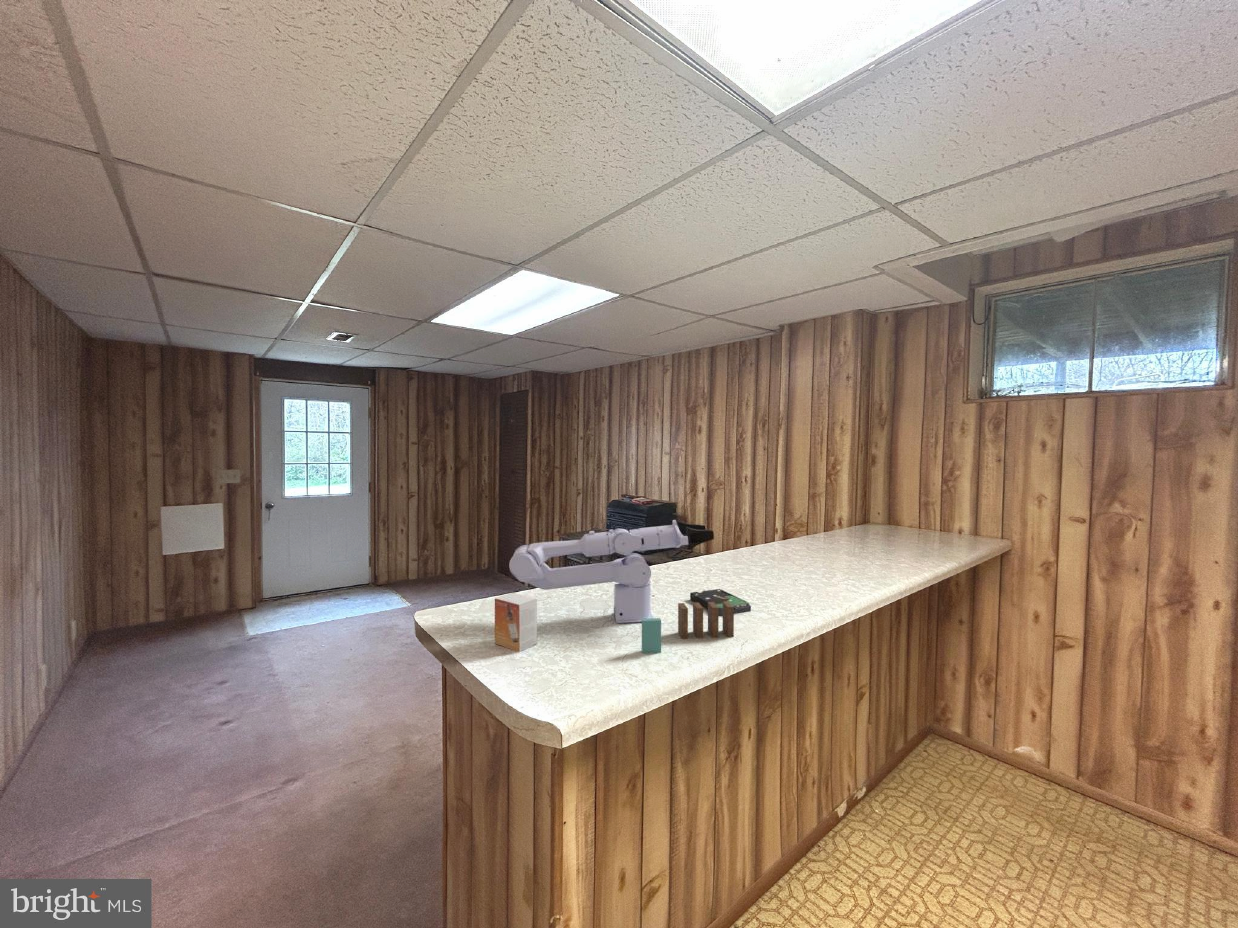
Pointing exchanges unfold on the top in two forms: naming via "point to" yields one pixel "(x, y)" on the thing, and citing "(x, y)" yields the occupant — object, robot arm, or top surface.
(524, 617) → the small box
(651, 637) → the teal domino
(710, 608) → the domino
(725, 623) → the domino
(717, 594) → the disk drive
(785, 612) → the top surface
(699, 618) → the domino
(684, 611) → the domino
